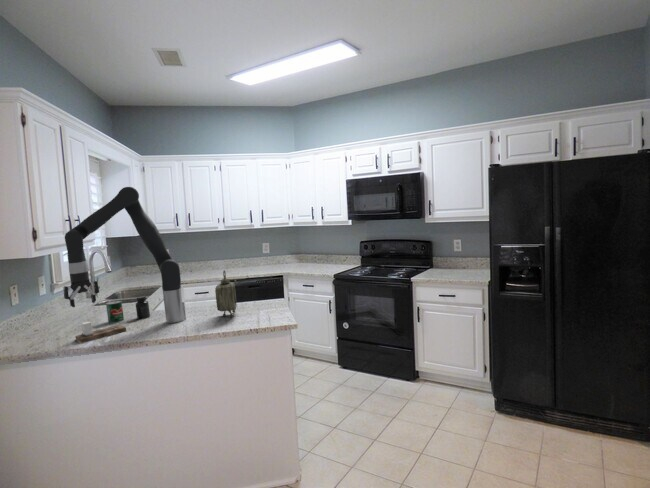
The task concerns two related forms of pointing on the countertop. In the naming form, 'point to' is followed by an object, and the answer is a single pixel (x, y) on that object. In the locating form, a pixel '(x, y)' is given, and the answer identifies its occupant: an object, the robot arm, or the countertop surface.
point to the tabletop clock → (226, 296)
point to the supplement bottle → (142, 308)
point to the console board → (101, 333)
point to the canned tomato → (115, 311)
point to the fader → (87, 328)
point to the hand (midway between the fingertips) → (83, 304)
